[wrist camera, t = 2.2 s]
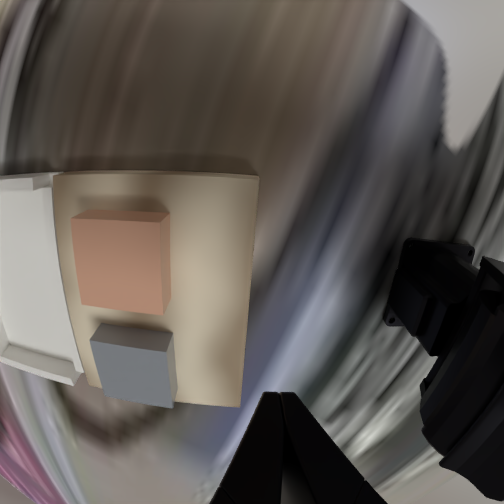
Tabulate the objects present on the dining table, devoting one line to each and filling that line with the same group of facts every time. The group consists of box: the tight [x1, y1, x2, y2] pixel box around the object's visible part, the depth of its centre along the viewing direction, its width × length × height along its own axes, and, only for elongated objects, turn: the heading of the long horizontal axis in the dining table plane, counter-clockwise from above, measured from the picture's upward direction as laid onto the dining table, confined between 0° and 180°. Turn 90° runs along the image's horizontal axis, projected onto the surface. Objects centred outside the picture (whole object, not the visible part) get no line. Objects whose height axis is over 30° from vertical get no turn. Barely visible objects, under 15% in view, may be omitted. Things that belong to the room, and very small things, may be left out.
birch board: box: [53, 170, 260, 407], centre depth 19 cm, size 12×16×2 cm
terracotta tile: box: [70, 209, 171, 315], centre depth 16 cm, size 5×5×2 cm
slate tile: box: [89, 323, 178, 408], centre depth 18 cm, size 5×5×2 cm
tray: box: [0, 172, 85, 386], centre depth 18 cm, size 10×16×2 cm, turn 175°
